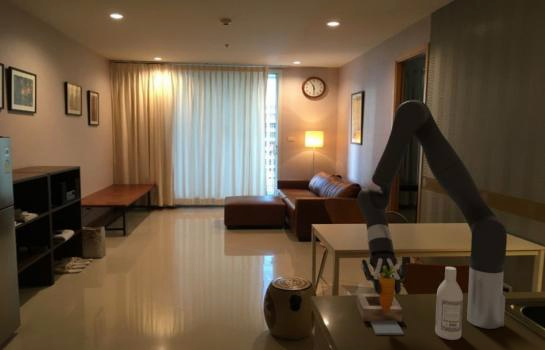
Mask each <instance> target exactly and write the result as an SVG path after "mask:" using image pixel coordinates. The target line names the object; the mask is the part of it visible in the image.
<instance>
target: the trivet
mask: <svg viewBox="0 0 545 350" xmlns="http://www.w3.org/2000/svg"><path fill="white" fill-rule="evenodd" d="M369 323H370V326H371V327H372V329H373V333H374V334H375V335H376V336H403V335H404V331H403V330H402V328H401V326H400V325H399V323H398V321H396V320H370V321H369Z"/></svg>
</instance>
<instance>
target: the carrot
mask: <svg viewBox="0 0 545 350" xmlns="http://www.w3.org/2000/svg"><path fill="white" fill-rule="evenodd" d="M392 269H393V266H391V268H390V270H389V272H388V271H387V269H386V267H385V266H383V271H384V273H383V275H382V276H379V278H378V280H379V285H380V294H379V299H380V304H381V307H382V309H383V311H384V313H385V314H387V313H388V311H389V310H390V308H391V306H392V302H393V297H395V279H394V278H392V277H391V274H392V273H394V272H395V271H394V270H392Z"/></svg>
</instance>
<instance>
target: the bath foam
mask: <svg viewBox="0 0 545 350" xmlns="http://www.w3.org/2000/svg"><path fill="white" fill-rule="evenodd" d="M444 270H445V271H444V280H443V281H442V282H441V283H440V284H439V286H438V288H437V290H436V291H437V292H436V301H435V303H436V305H435V326H434V327H435V329H434V330H435V331H434V332H435V334H436V336H438V337H439V338H442V339H444V340H449V341H455V340H459V339H460V338H462V329H463V327H462V325H463V308H464V307H463V306H464V305H463V304H464V296H463V290H462V289H461V287H460V285H459V284H458V282H457V268H456V267H453V266H445V269H444Z"/></svg>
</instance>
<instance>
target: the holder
mask: <svg viewBox="0 0 545 350" xmlns="http://www.w3.org/2000/svg"><path fill="white" fill-rule="evenodd" d="M356 307H357V309H358V312H359V314H360V316H361V320H362V321H363V322H370V320H396V321H397V323H398V322H403V308H402V305H400V303H399V302H398V300H397V299H396V297H395V296H394V297H393V302H392V306H391V308H390V310H389V311H388V313H387V314H385V313H384V311H383V309H382V307H381V304H380V299H379V294H377V293H356Z"/></svg>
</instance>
